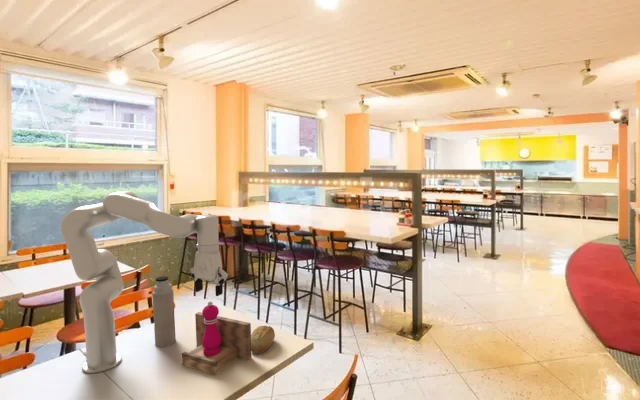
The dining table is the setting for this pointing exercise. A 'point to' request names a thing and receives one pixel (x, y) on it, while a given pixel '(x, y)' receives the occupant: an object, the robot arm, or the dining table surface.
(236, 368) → the dining table surface
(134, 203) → the robot arm
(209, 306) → the pepper mill
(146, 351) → the dining table surface
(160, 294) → the thermos bottle
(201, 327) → the wall shelf
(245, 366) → the dining table surface
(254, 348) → the bread roll
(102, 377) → the dining table surface
